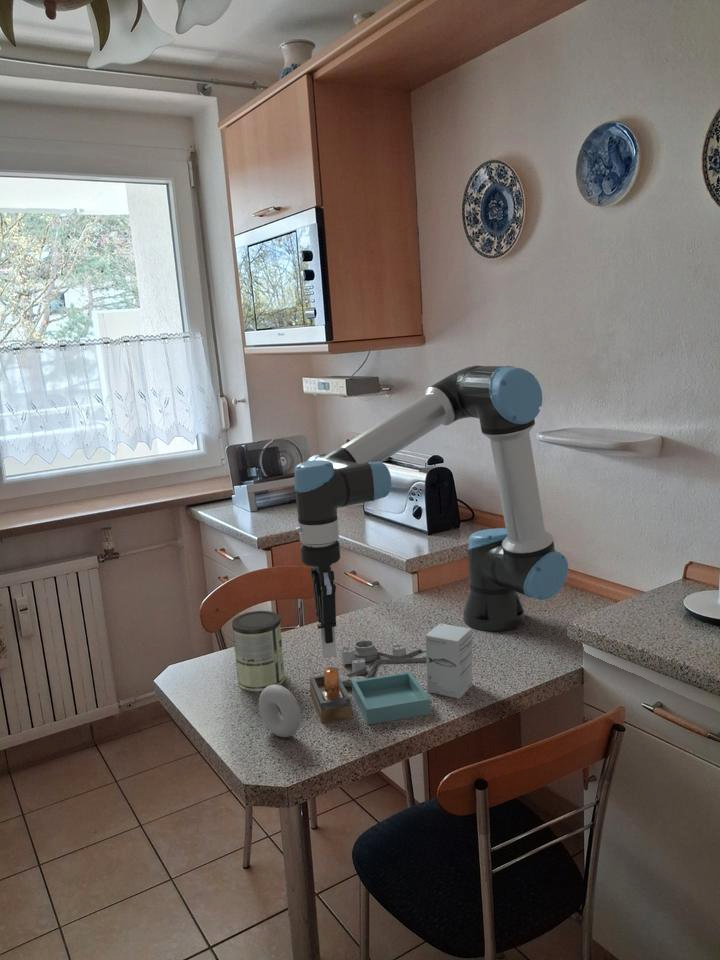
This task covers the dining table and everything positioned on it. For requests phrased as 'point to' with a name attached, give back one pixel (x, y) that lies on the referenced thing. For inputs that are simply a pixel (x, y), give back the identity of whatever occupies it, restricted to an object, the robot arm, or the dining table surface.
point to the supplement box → (449, 660)
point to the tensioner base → (329, 701)
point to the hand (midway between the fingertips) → (329, 655)
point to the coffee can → (258, 650)
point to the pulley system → (373, 658)
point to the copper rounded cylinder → (331, 684)
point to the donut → (287, 705)
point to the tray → (390, 697)
